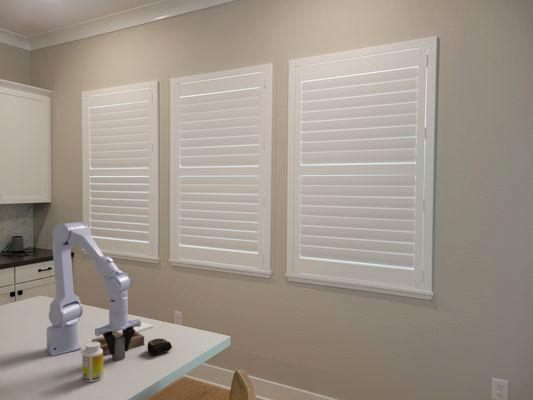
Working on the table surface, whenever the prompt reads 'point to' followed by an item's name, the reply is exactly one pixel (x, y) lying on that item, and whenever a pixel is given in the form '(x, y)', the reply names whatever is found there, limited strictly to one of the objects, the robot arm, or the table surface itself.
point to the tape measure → (158, 346)
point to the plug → (119, 348)
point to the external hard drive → (143, 327)
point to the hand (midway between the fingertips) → (118, 352)
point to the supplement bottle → (92, 362)
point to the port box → (135, 340)
